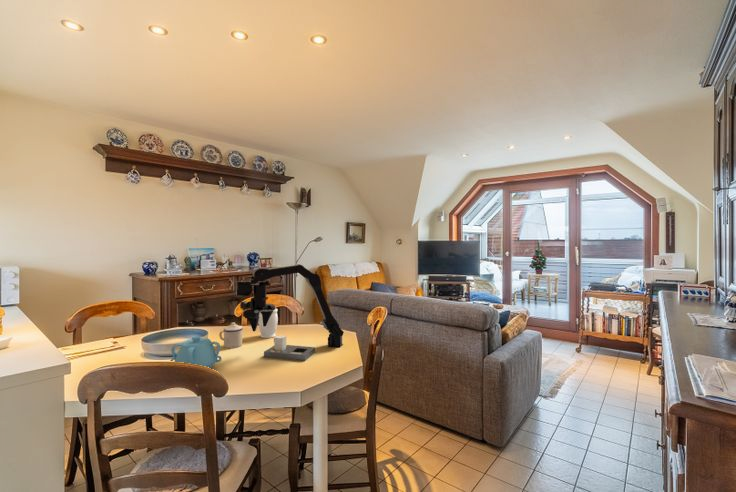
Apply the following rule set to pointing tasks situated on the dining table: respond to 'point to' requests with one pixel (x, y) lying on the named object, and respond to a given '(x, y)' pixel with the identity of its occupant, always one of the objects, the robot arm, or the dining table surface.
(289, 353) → the grey socket board
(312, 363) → the dining table surface
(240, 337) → the teacup with lid
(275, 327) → the jar
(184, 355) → the decorative pot
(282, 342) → the plug
